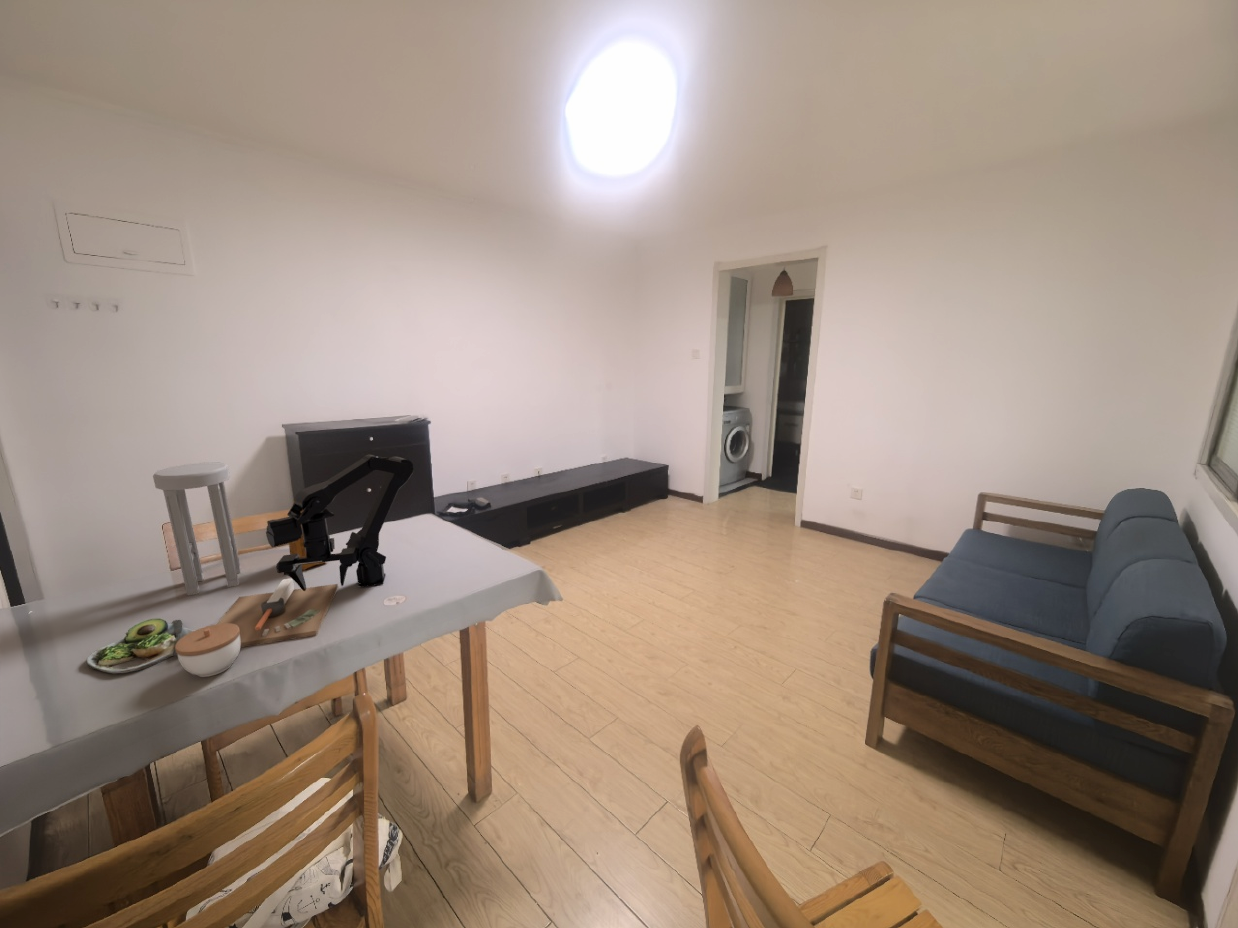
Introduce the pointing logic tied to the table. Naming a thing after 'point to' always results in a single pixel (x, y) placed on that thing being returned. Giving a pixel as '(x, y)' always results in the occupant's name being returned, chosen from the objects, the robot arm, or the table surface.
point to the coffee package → (300, 550)
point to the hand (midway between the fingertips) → (323, 587)
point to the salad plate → (140, 646)
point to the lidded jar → (209, 649)
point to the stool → (177, 505)
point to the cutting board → (295, 622)
